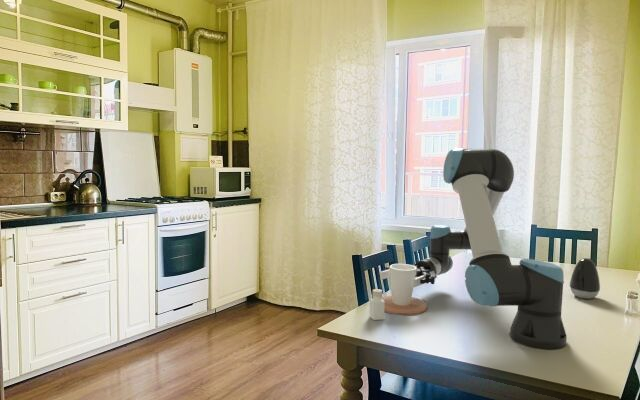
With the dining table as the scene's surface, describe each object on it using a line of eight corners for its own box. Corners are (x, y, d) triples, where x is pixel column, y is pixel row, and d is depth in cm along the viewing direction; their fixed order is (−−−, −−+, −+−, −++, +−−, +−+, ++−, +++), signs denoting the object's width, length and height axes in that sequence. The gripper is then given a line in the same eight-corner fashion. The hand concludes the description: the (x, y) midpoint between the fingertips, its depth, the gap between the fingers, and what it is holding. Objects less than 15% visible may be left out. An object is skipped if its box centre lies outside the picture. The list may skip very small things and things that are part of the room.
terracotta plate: (432, 315, 157) (432, 311, 157) (378, 314, 158) (378, 310, 158) (421, 299, 175) (421, 295, 175) (373, 298, 176) (373, 294, 175)
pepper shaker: (373, 321, 151) (374, 292, 150) (368, 316, 155) (369, 289, 154) (384, 320, 152) (385, 291, 151) (380, 315, 156) (380, 288, 155)
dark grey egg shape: (602, 296, 181) (604, 258, 179) (595, 302, 173) (598, 262, 172) (573, 291, 188) (575, 254, 186) (565, 296, 180) (568, 258, 179)
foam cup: (414, 308, 161) (416, 271, 159) (387, 305, 163) (388, 269, 161) (415, 299, 170) (416, 264, 169) (389, 297, 172) (391, 262, 171)
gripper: (457, 284, 171) (429, 297, 155) (398, 272, 187) (367, 283, 172) (458, 264, 170) (429, 275, 154) (399, 254, 187) (368, 263, 171)
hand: (397, 279), depth 163 cm, fingers open, 13 cm apart
